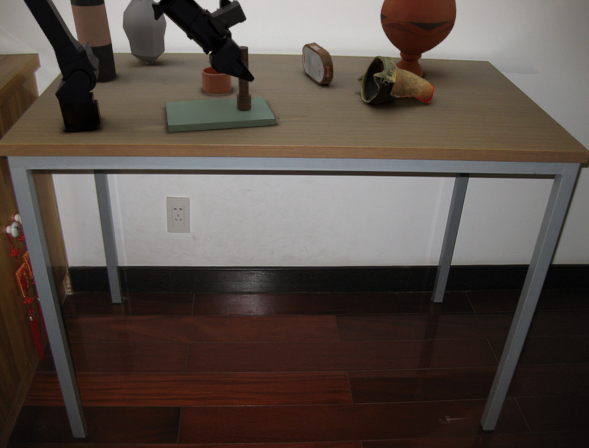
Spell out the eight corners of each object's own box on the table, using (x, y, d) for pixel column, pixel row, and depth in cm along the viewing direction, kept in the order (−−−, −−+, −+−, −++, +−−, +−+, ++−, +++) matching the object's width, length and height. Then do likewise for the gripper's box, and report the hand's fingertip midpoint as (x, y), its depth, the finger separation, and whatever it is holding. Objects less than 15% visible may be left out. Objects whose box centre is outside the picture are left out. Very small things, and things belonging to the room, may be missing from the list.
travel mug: (108, 83, 122) (92, -5, 111) (79, 80, 123) (61, -7, 112) (123, 74, 128) (109, -10, 117) (95, 71, 129) (79, -13, 118)
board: (168, 132, 100) (168, 125, 99) (166, 108, 110) (165, 101, 110) (275, 125, 105) (275, 118, 104) (263, 102, 115) (263, 96, 115)
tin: (333, 88, 126) (336, 54, 121) (321, 89, 124) (324, 55, 120) (310, 70, 137) (311, 38, 132) (299, 71, 136) (300, 39, 131)
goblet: (450, 86, 130) (473, -19, 116) (377, 83, 130) (391, -22, 115) (435, 64, 145) (453, -31, 131) (369, 61, 145) (381, -34, 131)
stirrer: (234, 110, 107) (232, 48, 100) (239, 104, 110) (238, 44, 102) (248, 111, 107) (247, 50, 99) (253, 106, 109) (252, 46, 102)
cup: (204, 96, 117) (202, 75, 114) (201, 86, 123) (200, 66, 120) (233, 95, 119) (232, 74, 116) (229, 85, 124) (228, 65, 121)
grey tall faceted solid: (172, 69, 133) (159, -59, 116) (128, 71, 131) (108, -60, 114) (169, 57, 142) (157, -64, 125) (128, 58, 140) (110, -64, 123)
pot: (456, 72, 110) (385, 46, 104) (439, 122, 112) (369, 99, 106) (417, 73, 126) (355, 51, 120) (403, 117, 128) (341, 97, 122)
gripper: (226, -5, 86) (286, 57, 95) (213, -23, 101) (266, 33, 110) (184, 43, 89) (246, 99, 97) (178, 19, 104) (232, 70, 112)
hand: (249, 73), depth 104 cm, fingers open, 9 cm apart
